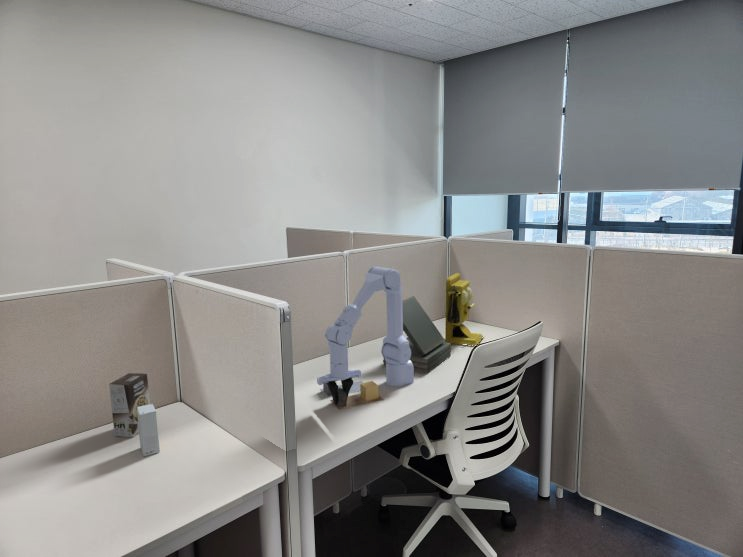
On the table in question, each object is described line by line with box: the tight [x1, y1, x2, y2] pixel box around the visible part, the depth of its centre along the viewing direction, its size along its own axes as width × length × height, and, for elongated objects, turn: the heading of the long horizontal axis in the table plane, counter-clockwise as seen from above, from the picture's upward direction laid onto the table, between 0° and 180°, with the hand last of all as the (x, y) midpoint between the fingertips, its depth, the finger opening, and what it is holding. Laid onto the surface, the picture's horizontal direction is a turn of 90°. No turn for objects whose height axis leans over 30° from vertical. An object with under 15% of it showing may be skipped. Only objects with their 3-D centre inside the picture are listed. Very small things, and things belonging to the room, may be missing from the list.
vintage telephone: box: [444, 272, 484, 348], centre depth 222 cm, size 31×14×30 cm, turn 155°
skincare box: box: [137, 403, 161, 457], centre depth 133 cm, size 6×4×12 cm
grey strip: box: [319, 380, 364, 399], centre depth 170 cm, size 16×8×5 cm, turn 116°
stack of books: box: [382, 295, 452, 375], centre depth 198 cm, size 23×20×25 cm
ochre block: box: [359, 380, 379, 401], centre depth 163 cm, size 4×4×4 cm
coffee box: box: [108, 372, 151, 438], centre depth 144 cm, size 9×6×16 cm
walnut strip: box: [330, 387, 385, 411], centre depth 161 cm, size 16×8×5 cm, turn 116°
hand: (340, 401), depth 158 cm, fingers open, 3 cm apart
